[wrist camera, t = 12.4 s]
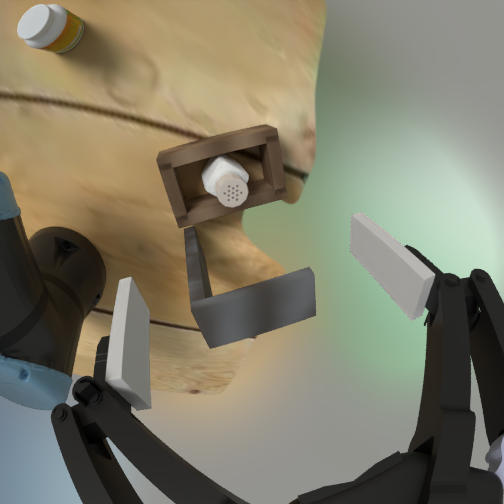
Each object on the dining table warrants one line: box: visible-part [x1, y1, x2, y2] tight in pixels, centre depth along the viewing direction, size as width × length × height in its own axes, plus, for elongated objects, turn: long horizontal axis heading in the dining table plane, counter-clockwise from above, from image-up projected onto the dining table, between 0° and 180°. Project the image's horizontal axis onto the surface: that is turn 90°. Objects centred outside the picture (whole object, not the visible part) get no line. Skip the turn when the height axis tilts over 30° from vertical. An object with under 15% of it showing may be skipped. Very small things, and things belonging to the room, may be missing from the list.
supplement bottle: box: [18, 4, 84, 53], centre depth 16 cm, size 5×5×10 cm
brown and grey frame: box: [156, 124, 316, 349], centre depth 31 cm, size 14×18×17 cm
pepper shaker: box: [201, 154, 249, 208], centre depth 32 cm, size 4×4×10 cm
